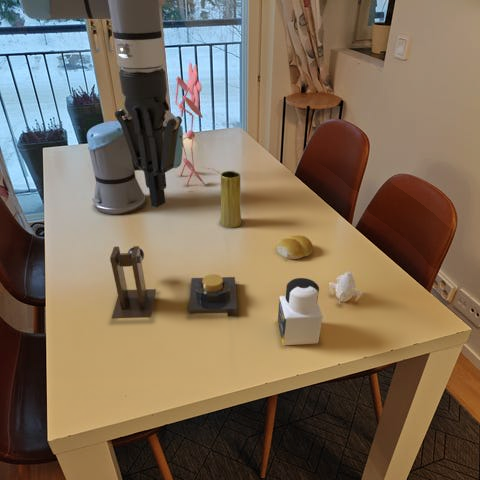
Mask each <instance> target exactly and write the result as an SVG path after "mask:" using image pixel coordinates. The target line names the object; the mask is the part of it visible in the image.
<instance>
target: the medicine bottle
mask: <svg viewBox="0 0 480 480" xmlns="http://www.w3.org/2000/svg"><path fill="white" fill-rule="evenodd" d="M319 293H320V287H319V285H318V284H317V282H316V281H314V280H312V279H310V278H305V277H295V278H293V279H291V280H290V281H289V282H287V283H286V288H285V295H280V296H279V298H278V299H279V302H278V313H277V325H278V330H279V334H280V338H281V339H280V340H281V343H282V346H294V345H295V346H296V345H313V344H314V345H317V344H319V341H320V334H321V329H322V322H323V313H322V310H321V307H320V305H319V302H318V299H319Z"/></svg>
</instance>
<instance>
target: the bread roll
mask: <svg viewBox="0 0 480 480" xmlns="http://www.w3.org/2000/svg"><path fill="white" fill-rule="evenodd" d="M276 250H277V253H278V254H279V255H280V256H282V257H283V258H285V259H287V260H297V259H301V258H303V257H308V256H310V255H312V253H313V250H314V246H313V243H312V241H311V240H310V239H309V238H308V237H306V236H305V235H300V234H299V235H297V234H296V235H291V236H289V237H287V238H286V237H285V238H282V239H280V240H279V241H278V243H277V245H276Z"/></svg>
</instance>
